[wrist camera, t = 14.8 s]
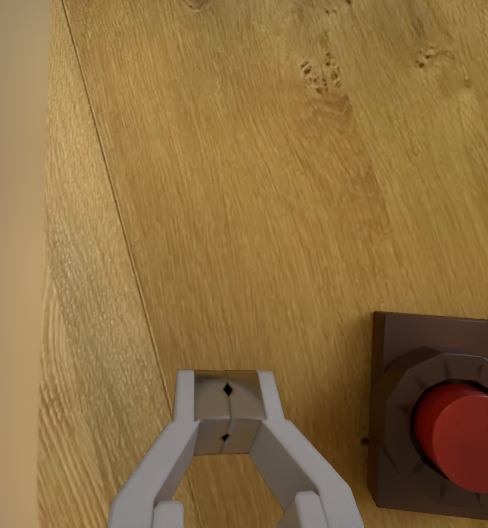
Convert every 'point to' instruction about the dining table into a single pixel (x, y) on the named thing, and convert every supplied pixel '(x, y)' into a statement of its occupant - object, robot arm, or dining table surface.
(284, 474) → the robot arm
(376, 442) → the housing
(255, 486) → the dining table surface
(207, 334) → the dining table surface
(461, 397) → the button
